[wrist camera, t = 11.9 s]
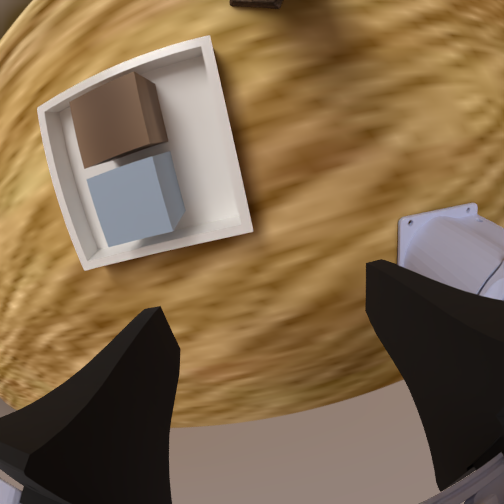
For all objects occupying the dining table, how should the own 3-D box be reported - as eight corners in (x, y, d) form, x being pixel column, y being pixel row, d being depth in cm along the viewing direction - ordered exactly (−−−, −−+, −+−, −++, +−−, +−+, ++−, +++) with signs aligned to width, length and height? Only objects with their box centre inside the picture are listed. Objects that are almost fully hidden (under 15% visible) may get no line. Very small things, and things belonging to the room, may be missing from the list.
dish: (213, 47, 14) (209, 35, 12) (251, 219, 19) (253, 231, 16) (56, 108, 14) (36, 107, 12) (98, 255, 19) (84, 270, 17)
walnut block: (155, 83, 14) (133, 71, 10) (168, 141, 16) (150, 143, 12) (100, 105, 14) (69, 102, 11) (113, 160, 16) (84, 168, 12)
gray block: (185, 210, 18) (173, 231, 14) (131, 224, 18) (108, 247, 14) (170, 151, 16) (152, 156, 12) (114, 168, 16) (86, 179, 12)
